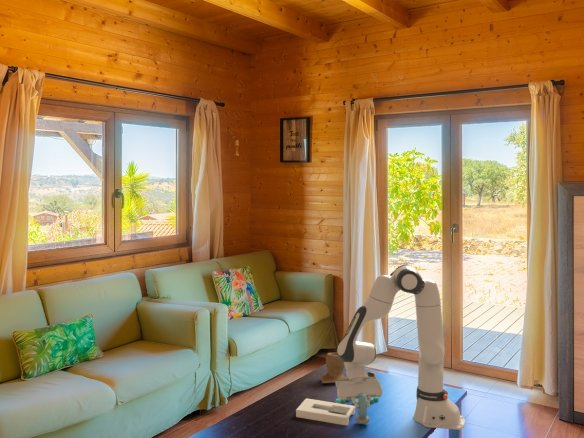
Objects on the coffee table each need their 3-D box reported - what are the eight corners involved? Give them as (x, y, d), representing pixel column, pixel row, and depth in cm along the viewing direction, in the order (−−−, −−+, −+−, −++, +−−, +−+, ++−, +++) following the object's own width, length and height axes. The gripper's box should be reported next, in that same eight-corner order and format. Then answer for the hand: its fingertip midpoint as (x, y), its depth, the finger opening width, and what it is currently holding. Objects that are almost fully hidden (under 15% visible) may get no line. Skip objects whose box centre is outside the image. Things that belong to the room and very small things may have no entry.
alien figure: (335, 404, 268) (377, 408, 264) (335, 400, 268) (377, 403, 264) (340, 389, 287) (379, 392, 283) (340, 385, 287) (379, 388, 283)
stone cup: (342, 376, 305) (343, 349, 304) (350, 384, 294) (350, 356, 293) (316, 378, 302) (316, 351, 301) (322, 386, 290) (323, 358, 289)
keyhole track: (355, 413, 257) (355, 406, 257) (347, 425, 244) (347, 418, 244) (306, 405, 266) (306, 398, 265) (296, 416, 252) (296, 409, 252)
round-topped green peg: (370, 419, 247) (370, 393, 246) (367, 425, 241) (367, 398, 241) (357, 417, 249) (357, 391, 248) (354, 422, 244) (354, 396, 243)
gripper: (335, 376, 249) (341, 405, 240) (379, 373, 252) (386, 402, 243) (333, 382, 254) (338, 411, 245) (376, 379, 257) (383, 408, 248)
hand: (362, 407), depth 244 cm, fingers closed on round-topped green peg, 4 cm apart
